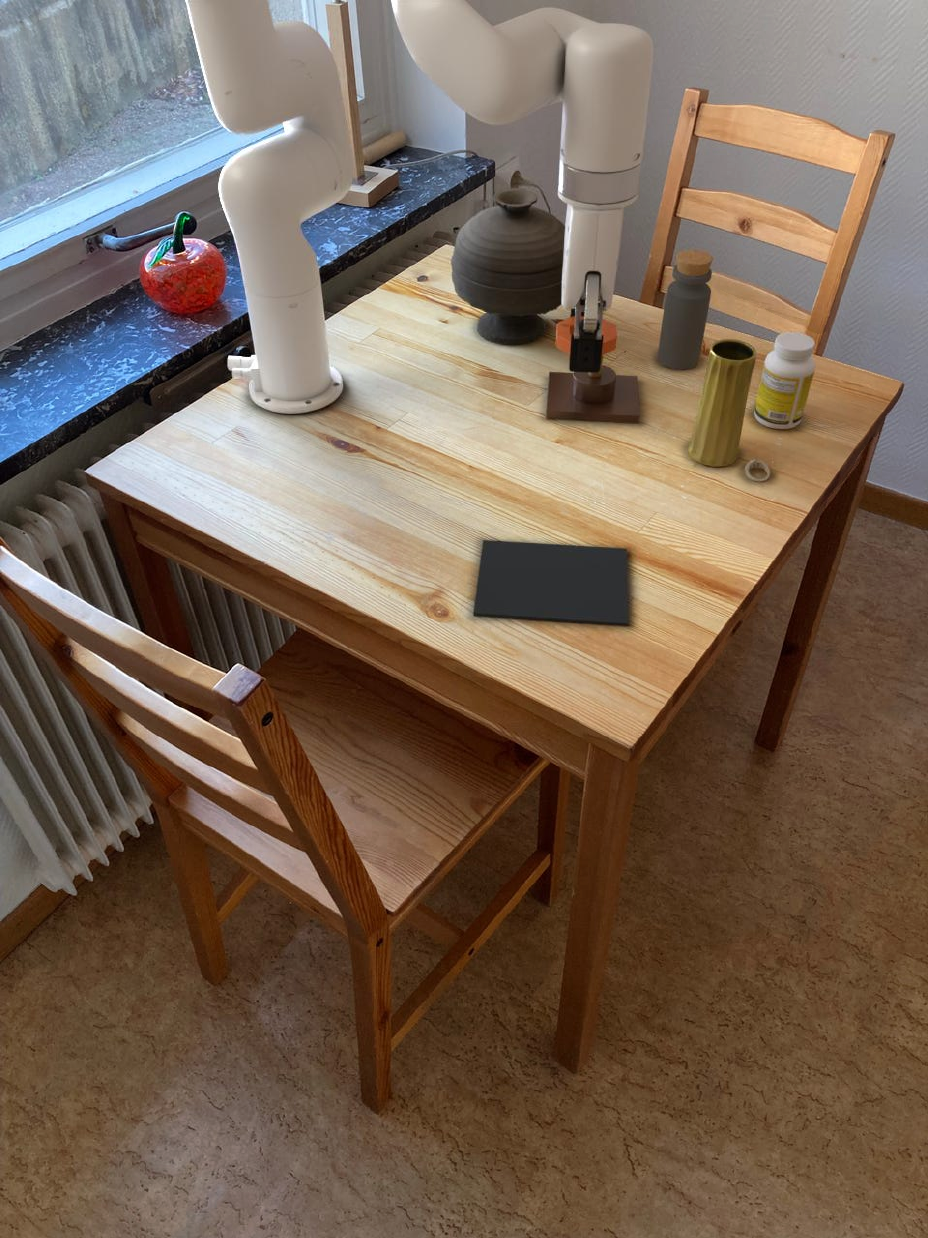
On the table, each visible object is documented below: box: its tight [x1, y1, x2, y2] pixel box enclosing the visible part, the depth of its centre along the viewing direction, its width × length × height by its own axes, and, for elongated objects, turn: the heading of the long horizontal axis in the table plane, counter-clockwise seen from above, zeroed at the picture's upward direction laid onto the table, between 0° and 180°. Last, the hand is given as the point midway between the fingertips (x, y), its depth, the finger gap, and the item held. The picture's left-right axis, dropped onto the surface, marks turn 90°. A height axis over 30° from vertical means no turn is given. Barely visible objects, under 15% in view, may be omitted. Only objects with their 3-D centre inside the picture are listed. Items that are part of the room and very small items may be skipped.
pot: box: [450, 187, 565, 346], centre depth 141 cm, size 18×18×20 cm
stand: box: [545, 354, 640, 424], centre depth 130 cm, size 12×10×8 cm
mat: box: [472, 539, 630, 627], centre depth 107 cm, size 16×12×1 cm
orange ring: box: [555, 316, 618, 356], centre depth 104 cm, size 6×6×1 cm
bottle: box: [657, 249, 714, 371], centre depth 136 cm, size 6×6×15 cm
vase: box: [687, 338, 757, 468], centre depth 119 cm, size 6×6×14 cm
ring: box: [743, 458, 771, 483], centre depth 121 cm, size 2×3×3 cm
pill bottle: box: [753, 331, 816, 430], centre depth 126 cm, size 6×6×11 cm
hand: (584, 352), depth 105 cm, fingers closed on orange ring, 6 cm apart
